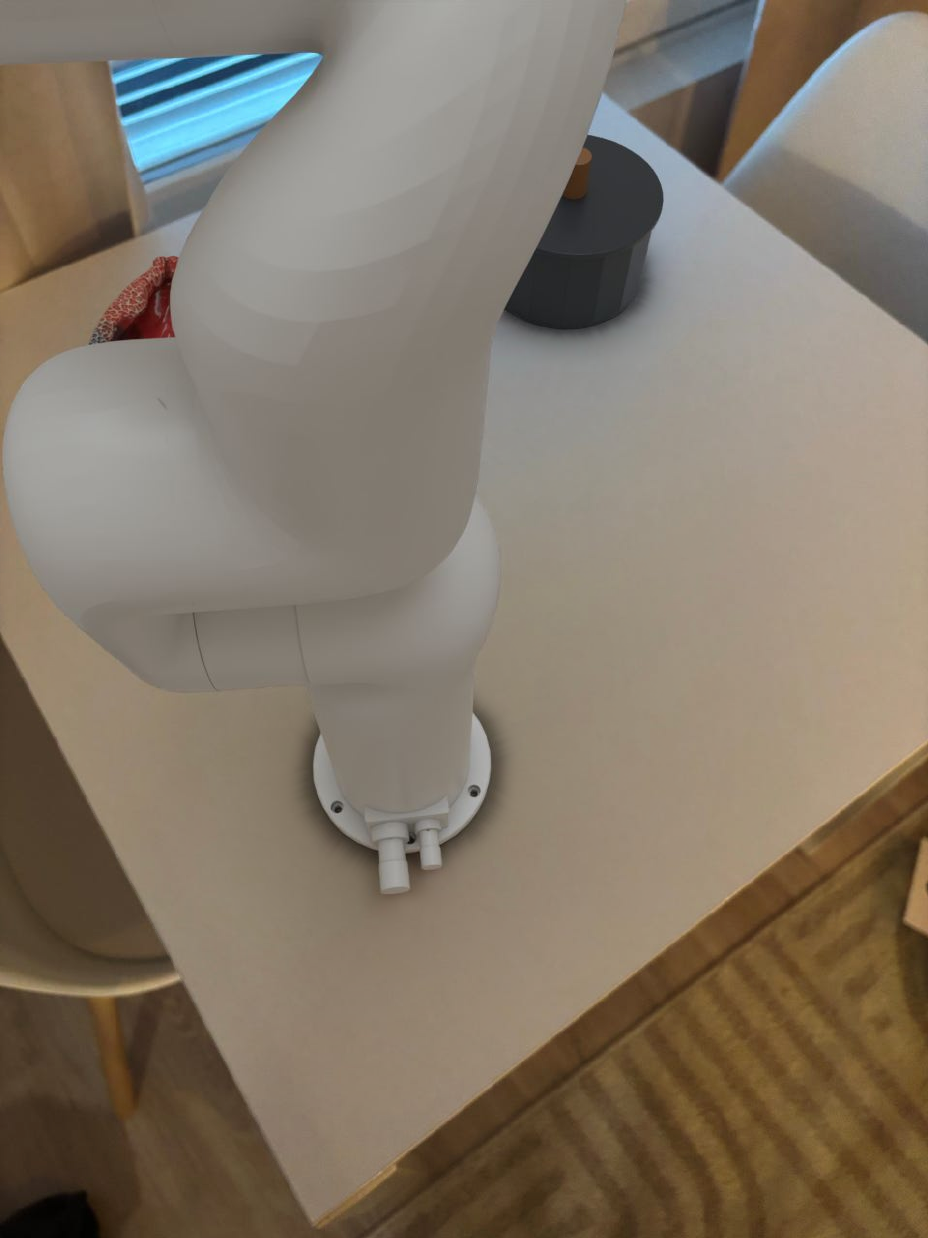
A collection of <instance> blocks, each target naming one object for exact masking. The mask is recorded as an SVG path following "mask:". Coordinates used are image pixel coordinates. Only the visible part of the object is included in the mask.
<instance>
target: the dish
mask: <svg viewBox="0 0 928 1238" xmlns="http://www.w3.org/2000/svg"><path fill="white" fill-rule="evenodd" d="M178 258H179V256H177V255H170V256H167V257H166V256H163V255H161V256H157V257H155V258H154V259H153V260H152V266H151V267H150V268H149V269H147V270H146V271H145V272H143V274H140V275H139V276H138V277H137V278H135V279H134V280H133V281H132V282H131V283H129V285H127V286H126V287H125V288H124V289H122V291H121V292H120V293H119V295H118V296H116V298H115V299H114V300H113V301H112V303H111V304H110V305H109V307H108V308H107V310H105V312H104V313H103V314H102V316H101V317H100V319H99V321H98V323H97V324H96V326H95V327H94V330H93V332H92V335H91V337H90V339H89V342H88V344H87V345H91V344H98V343H105V342H112V341H122V340H134V339H153V338H172V337H175V334H174V330H173V327H172V320H171V309H170V291H171V285H172V279H173V276H174V272H175V269H176V265H177V261H178Z"/></svg>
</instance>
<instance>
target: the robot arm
mask: <svg viewBox="0 0 928 1238" xmlns="http://www.w3.org/2000/svg"><path fill="white" fill-rule="evenodd" d="M627 1H628V0H0V66H14V65H15V66H16V65H43V64H65V63H90V62H91V63H92V62H114V61H119V62H120V61H143V60H167V59H168V60H169V59H170V60H171V59H197V58H214V57H233V56H258V55H259V56H260V55H279V54H283V55H284V54H311V53H312V54H317V55H319V56H321V57H322V58H321V59H320V61H319V62H318V63H317V65H316V67H315V68H314V69H313V71H312V73H311V74H310V75H309V77H308V78H307V79H306V81H305V82H304V83H303V84H302V85H301V86H300V88H299V89H298V90H297V91H296V92H294V94H293V95H292V97H291V98H289V100H288V101H286V103H285V104H284V105H283V106H282V107H281V108H280V109H279V110H278V111H277V112H276V113H275V114H274V115H273V116H272V117H271V119H269V120H268V121H267V122H266V123H265V124H264V126H263V127H262V128H261V129H260V130H259V131H258V132H257V134H255V136H254V137H253V138H252V139H251V141H250V142H249V143H248V144H247V145H246V147H244V149H243V150H242V151H241V153H240V154H239V155H238V156H237V158H236V159H235V160H234V161H233V163H232V164H231V165H230V167H229V168H228V169H227V171H226V172H225V174H224V175H223V176H222V178H221V180H220V181H219V183H218V184H217V186H216V187H215V189H214V190H213V192H212V193H211V195H210V197H209V198H208V201H207V203H206V204H205V206H204V208H203V209H202V211H201V213H200V214H199V216H198V218H197V219H196V221H195V223H194V224H193V226H192V229H191V230H190V231H189V233H188V235H187V237H186V239H185V242H184V244H183V247H182V249H181V252H180V253H179V255H178V257H179V258H178V261H177V265H176V269H175V272H174V276H173V279H172V285H171V291H170V309H171V320H172V327H173V330H174V334H175V337H172V338H153V339H134V340H122V341H112V342H105V343H98V344H91V345H88V344H85V345H81V346H77V347H74V348H70V349H68V350H65V351H62V352H60V353H57V354H56V355H54V356H52V357H50V358H49V359H47V360H46V361H45V360H44V362H43V363H41V364H40V365H39V366H38V367H37V368H36V369H34V371H32V372H31V373H30V374H29V375H28V376H27V378H26V379H25V380H24V381H23V383H22V385H21V386H20V388H19V390H18V391H17V393H16V395H15V397H14V399H13V400H12V402H11V405H10V408H9V412H8V414H7V417H6V421H5V427H4V431H3V440H2V451H1V461H2V462H1V465H2V477H3V483H4V491H5V495H6V496H5V497H6V503H7V507H8V512H9V516H10V520H11V523H12V527H13V530H14V533H15V537H16V539H17V542H18V544H19V547H20V549H21V551H22V553H23V556H24V558H25V560H26V562H27V564H28V566H29V569H30V571H31V573H32V574H33V576H34V577H35V579H36V581H37V582H38V584H39V586H40V587H41V588H42V590H43V591H44V593H45V594H46V596H47V597H48V598H49V600H50V601H51V603H53V604H54V605H55V606H56V607H57V609H58V610H60V612H62V613H63V615H64V616H65V617H67V618H68V620H69V621H71V622H72V624H74V625H75V626H76V627H77V628H78V629H80V630H81V631H82V632H83V633H84V634H86V635H87V636H88V637H89V638H90V639H91V640H92V641H94V642H95V643H96V644H97V645H98V646H100V647H101V648H102V649H103V650H104V651H106V652H107V653H108V654H109V655H110V656H111V657H113V658H114V659H115V660H116V661H117V662H118V663H120V664H121V665H122V666H124V667H125V668H126V669H127V670H128V671H130V672H131V673H132V674H133V675H134V676H136V677H137V678H138V679H139V680H141V681H143V682H144V683H146V684H148V685H149V686H152V687H154V688H157V689H159V690H162V691H166V692H172V693H182V694H199V693H218V692H229V691H242V690H243V691H244V690H245V691H246V690H256V689H268V688H270V689H272V688H283V687H295V686H305V687H306V692H307V697H308V699H309V703H310V705H311V707H312V711H313V713H314V716H315V720H316V723H317V727H318V728H319V732H320V733H319V736H318V738H317V741H316V745H315V748H314V754H313V759H312V761H313V762H312V769H313V770H312V771H313V783H314V786H315V790H316V794H317V798H318V800H319V802H320V804H321V807H322V808H323V810H324V812H325V813H326V815H327V816H328V818H329V820H330V821H331V822H332V823H333V824H334V825H335V826H336V827H337V829H339V831H340V832H341V833H343V834H344V835H345V836H346V837H348V838H349V839H351V840H353V841H354V842H355V843H357V844H359V845H362V846H364V847H366V848H368V849H370V850H374V851H377V852H378V862H379V863H378V875H379V876H378V877H379V888H380V889H379V890H380V894H384V895H394V894H395V895H396V894H402V893H405V892H408V891H410V890H411V884H410V874H409V863H408V861H407V856H406V854H413V853H418V852H419V858H420V860H419V861H420V868H421V870H423V871H433V870H438V869H441V868H442V867H443V860H442V851H441V846H440V845H442V844H444V843H445V842H448V841H449V840H451V839H452V838H454V837H456V836H457V835H458V834H459V833H461V831H463V830H464V829H465V828H466V827H467V826H468V825H469V824H470V823H471V821H472V820H473V819H474V817H475V816H476V815H477V813H479V811H480V808H481V807H482V805H483V802H484V800H485V798H486V796H487V792H488V789H489V785H490V781H491V773H492V754H491V749H490V748H491V747H490V744H489V740H488V739H489V738H488V736H487V734H486V731H485V730H484V727H483V725H482V723H481V721H480V720H479V718H478V717H477V716H476V714H475V713H474V694H475V679H476V668H477V659H478V656H479V654H480V653H481V651H482V649H483V647H484V645H485V643H486V641H487V639H488V636H489V634H490V632H491V629H492V626H493V623H494V620H495V617H496V613H497V609H498V604H499V599H500V592H501V575H502V573H501V572H502V562H501V561H502V560H501V550H500V544H499V539H498V535H497V532H496V528H495V525H494V522H493V520H492V518H491V517H490V514H489V512H488V510H487V509H486V508H485V506H484V504H483V503H482V502H481V501H480V500H479V498H477V496H476V494H477V488H478V484H479V478H480V468H481V459H482V450H483V442H484V430H485V421H486V411H487V399H488V390H489V381H490V380H489V379H490V369H491V368H490V367H491V356H492V346H493V342H494V338H495V333H496V329H497V327H498V324H499V322H500V320H501V317H502V315H503V313H504V311H505V309H506V308H505V306H506V304H507V302H508V300H509V298H510V296H511V294H512V293H513V291H514V289H515V287H516V285H517V283H518V281H519V279H520V277H521V276H522V274H523V272H524V270H525V268H526V266H527V264H528V263H529V261H530V259H531V257H532V255H533V253H534V251H535V249H536V247H537V245H538V243H539V241H540V239H541V237H542V236H543V234H544V232H545V230H546V228H547V225H548V223H549V221H550V219H551V217H552V215H553V213H554V211H555V209H556V207H557V204H558V202H559V200H560V198H561V196H562V194H563V192H564V189H565V187H566V185H567V183H568V181H569V178H570V176H571V174H572V172H573V169H574V167H575V164H576V162H577V159H578V157H579V155H580V152H581V150H582V147H583V145H584V142H585V140H586V138H587V135H589V132H590V129H591V126H592V124H593V121H594V119H595V118H594V117H595V115H596V112H597V109H598V106H599V103H600V101H601V98H602V94H603V92H604V88H605V85H606V81H607V78H608V75H609V71H610V68H611V65H612V61H613V58H614V54H615V51H616V46H617V43H618V38H619V35H620V31H621V27H622V22H623V18H624V14H625V10H626V6H627ZM472 793H476V794H477V795H476V796H472V795H471V794H472ZM338 808H339V809H341V810H340V811H339V812H336V809H338ZM410 839H412V840H413V842H412V843H408V842H410Z"/></svg>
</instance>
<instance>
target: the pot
mask: <svg viewBox="0 0 928 1238" xmlns="http://www.w3.org/2000/svg"><path fill="white" fill-rule="evenodd" d="M652 232H653V230H652V231H651V232H650V233H649V235H648V236H646V237H645V238H644V239H643V240H642V241H640V242H639V243H637V244H636V245H634V246H633V247H630V248H628V249H626V250H624V251H622V252H619V253H616V254H613V255H609V256H604V257H599V258H591V259H567V258H559V257H553V256H549V255H545V254H541V253H538V252H535V251H534V253H533V255H532V257H531V259H530V261H529V263H528V264H527V266H526V268H525V270H524V272H523V274H522V276H521V277H520V279H519V281H518V283H517V285H516V287H515V289H514V291H513V293H512V294H511V296H510V298H509V300H508V302H507V304H506V306H505V308H504V309H506V310H507V311H508V312H509V313H511V314H513V315H514V316H516V317H518V318H520V319H522V320H523V321H526V322H529V323H531V324H534V325H537V326H542V327H545V328H552V329H561V330H562V329H563V330H571V329H573V330H574V329H582V328H588V327H592V326H596V325H600V324H602V323H605V322H607V321H609V320H611V319H613V318H615V317H616V316H618V315H619V314H621V313H622V312H623V311H624V310H625V309H627V308H628V306H629V305H630V304H631V303H632V302H633V300H634V299H635V297H636V295H637V294H638V291H639V288H640V284H641V279H642V276H643V272H644V267H645V262H646V258H647V254H648V250H649V245H650V241H651V238H652V237H651V236H652Z"/></svg>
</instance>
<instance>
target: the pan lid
mask: <svg viewBox="0 0 928 1238" xmlns="http://www.w3.org/2000/svg"><path fill="white" fill-rule="evenodd" d="M664 200H665V199H664V189H663V185H662V183H661V181H660V178H659V176H658V174H657V173H656V171H655V169H654V168H653V167H652V166H651V165H650V164H649V163H648V162H647V160H645V159H644V158H643V157H642V156H640V154H637V153H636V152H635V151H633V150H632V149H630V148H628V147H626V146H625V145H622V144H620V143H618V142H616V141H613V140H610V139H607V138H605V137H601V136H596V135H592V134H588V135H587V138H586V140H585V142H584V145H583V147H582V150H581V152H580V155H579V157H578V159H577V162H576V164H575V167H574V169H573V172H572V174H571V176H570V178H569V181H568V183H567V185H566V187H565V189H564V192H563V194H562V196H561V198H560V200H559V202H558V204H557V207H556V209H555V211H554V213H553V215H552V217H551V219H550V221H549V223H548V225H547V228H546V230H545V232H544V234H543V236H542V237H541V239H540V241H539V243H538V245H537V247H536V249H535V252H538V253H541V254H545V255H549V256H553V257H559V258H567V259H591V258H599V257H604V256H609V255H613V254H616V253H619V252H622V251H624V250H626V249H628V248H630V247H633V246H634V245H636V244H637V243H639V242H640V241H642V240H643V239H644V238H645V237H646V236H648V235H649V233H650V232H651V231H652V232H653V230H655V228H656V226H657V224H658V223H659V221H660V218H661V215H662V213H663V209H664ZM652 232H651V233H652Z"/></svg>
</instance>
